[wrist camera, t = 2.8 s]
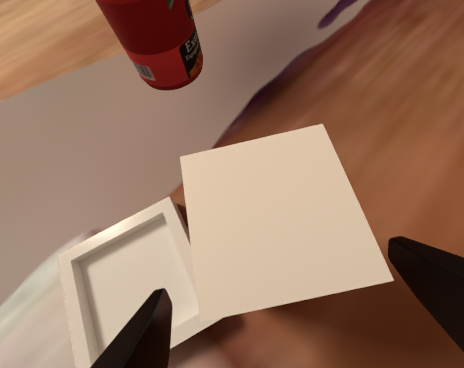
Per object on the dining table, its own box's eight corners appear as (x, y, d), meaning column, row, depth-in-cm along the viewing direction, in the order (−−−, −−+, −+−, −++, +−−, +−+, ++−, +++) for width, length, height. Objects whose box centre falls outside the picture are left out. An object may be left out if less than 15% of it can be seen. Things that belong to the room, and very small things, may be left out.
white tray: (225, 314, 17) (222, 318, 15) (99, 388, 16) (81, 401, 14) (176, 203, 21) (169, 196, 19) (73, 257, 20) (56, 255, 18)
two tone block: (304, 280, 17) (393, 280, 6) (239, 294, 17) (199, 322, 6) (284, 217, 19) (322, 123, 8) (227, 230, 19) (180, 156, 8)
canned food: (207, 86, 26) (173, -36, 16) (140, 98, 26) (66, -14, 16) (202, 42, 29) (172, -83, 19) (143, 53, 30) (82, -63, 20)
